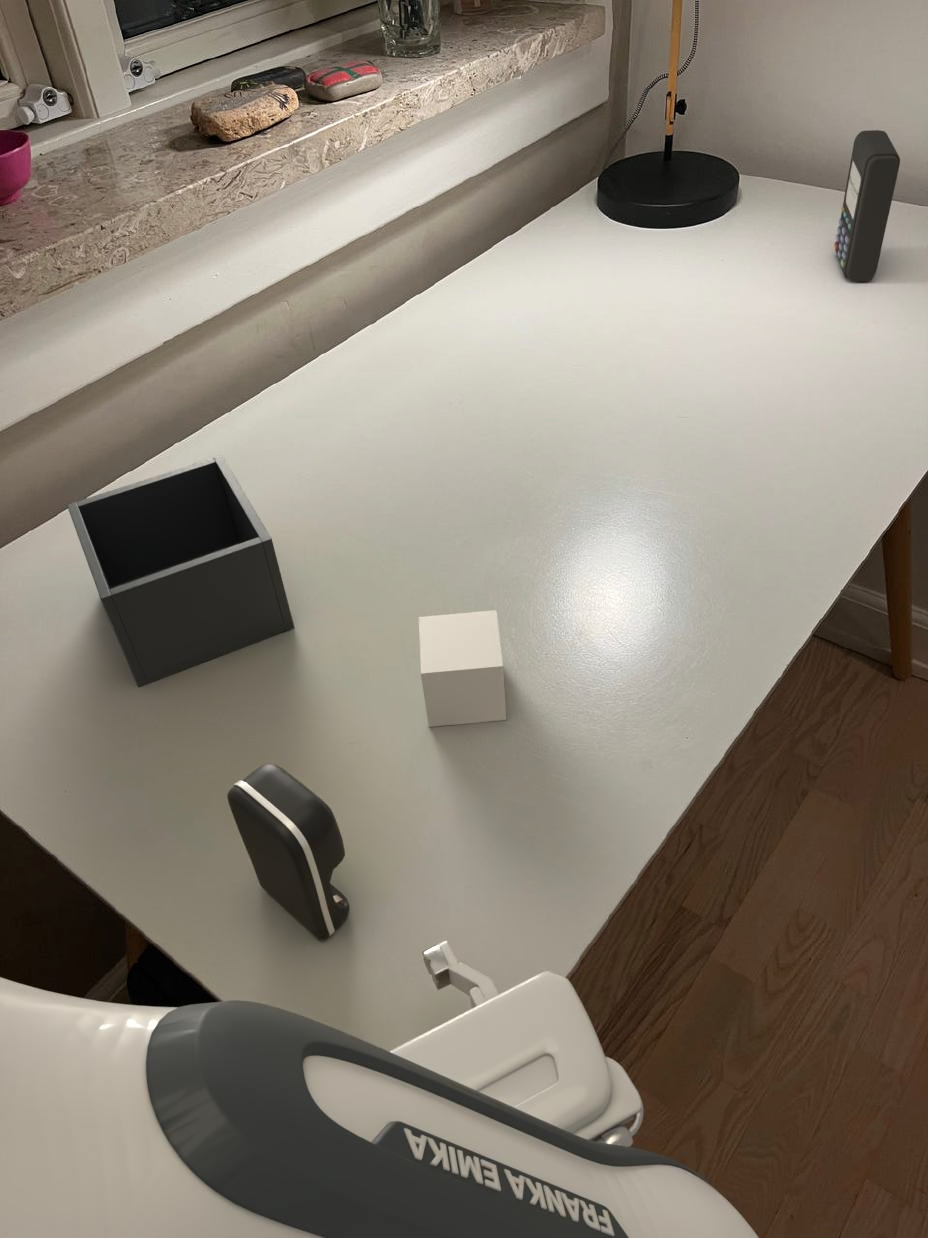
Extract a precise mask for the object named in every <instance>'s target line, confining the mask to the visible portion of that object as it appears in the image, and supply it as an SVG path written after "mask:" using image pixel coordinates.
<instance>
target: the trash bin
mask: <svg viewBox="0 0 928 1238" xmlns="http://www.w3.org/2000/svg"><path fill="white" fill-rule="evenodd" d="M66 507H67V509H68V512H69V515H70V518H71V521H72V524H73V526H74V530H75V532H76V535H77V537H78V540H79V543H80V546H81V548H82V551H83V554H84V557H85V560H86V562H87V565H88V569H89V571H90V574H91V576H92V579H93V582H94V584H95V587H96V590H97V593H98V595H99V598H100V601H101V603H102V605H103V608H104V611H105V612H106V615H107V618H108V620H109V622H110V625H111V627H112V629H113V632H114V634H115V637H116V638H117V641H118V643H119V646H120V648H121V651H122V653H123V655H124V657H125V659H126V663H127V664H128V667H129V669H130V671H131V675H132V677H133V678H134V680H135V683H136V685H137V687H138V688H139V687H142V686H145V685H148V684H151V683H153V682H155V681H158V680H160V679H163V678H166V677H169V676H171V675H174V674H177V673H179V672H182V671H185V670H187V669H190V668H192V667H195V666H198V665H200V664H202V663H206V662H208V661H211V660H213V659H215V658H218V657H222V656H224V655H227V654H230V653H232V652H235V651H237V650H239V649H242V648H245V647H248V646H251V645H253V644H256V643H258V642H261V641H263V640H266V639H268V638H272V637H273V636H277V635H279V634H281V633H282V634H283V633H284V632H287V631H289V630H292V629H295V624H294V621H293V615H292V612H291V608H290V604H289V601H288V597H287V593H286V589H285V585H284V582H283V578H282V573H281V569H280V566H279V562H278V557H277V554H276V549H275V546H274V542H273V538H272V537H271V535H270V533H269V532H268V530H267V529H266V527H265V524H264V523H263V522H262V520H261V518H260V516H259V515H258V513H257V511H256V509H255V507H254V506H253V505H252V503H251V501H250V500H249V498H248V496H247V494H246V492H245V491H244V489H243V488H242V486H241V485H240V482H239V481H238V479H237V478H236V476H235V474H234V473H233V470H232V469H231V468H230V466H229V464H228V463H227V461H226V459H225V457H224V456H223V454H220V455H217V456H214V457H211V458H208V459H204V460H201V461H198V462H196V463H192V464H189V465H186V466H183V467H180V468H177V469H174V470H171V471H167V472H165V473H161V474H158V475H154V476H152V477H149V478H146V479H143V480H140V481H139V480H138V481H137V482H134V483H130V484H126V485H124V486H120V487H118V488H115V489H112V490H109V491H105V492H103V493H100V494H96V495H93V496H90V497H87V498H84V499H81V500H78V501H75V502H72V503H69V504H67V505H66Z"/></svg>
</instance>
